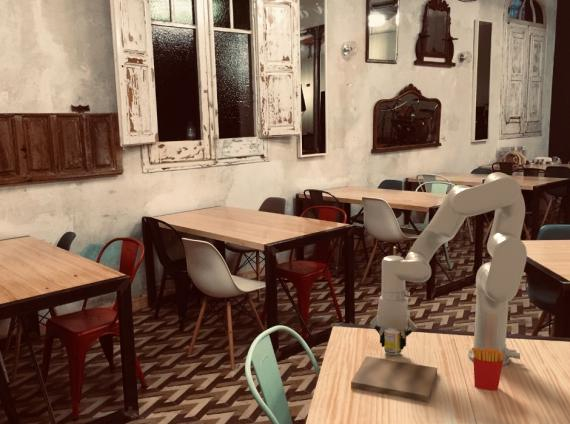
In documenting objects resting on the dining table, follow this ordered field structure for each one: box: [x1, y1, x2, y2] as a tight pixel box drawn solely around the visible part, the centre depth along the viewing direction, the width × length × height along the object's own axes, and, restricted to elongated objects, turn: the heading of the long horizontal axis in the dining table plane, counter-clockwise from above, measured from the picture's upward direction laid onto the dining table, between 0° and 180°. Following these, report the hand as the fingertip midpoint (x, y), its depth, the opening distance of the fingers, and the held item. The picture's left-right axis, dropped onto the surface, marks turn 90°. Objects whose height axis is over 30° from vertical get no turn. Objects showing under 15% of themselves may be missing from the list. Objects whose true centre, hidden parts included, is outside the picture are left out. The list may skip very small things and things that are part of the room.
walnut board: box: [350, 355, 438, 404], centre depth 165 cm, size 22×18×2 cm
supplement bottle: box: [383, 328, 403, 356], centre depth 182 cm, size 6×6×10 cm
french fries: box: [471, 347, 503, 392], centre depth 160 cm, size 8×4×12 cm, turn 71°
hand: (392, 346), depth 183 cm, fingers closed on supplement bottle, 5 cm apart
